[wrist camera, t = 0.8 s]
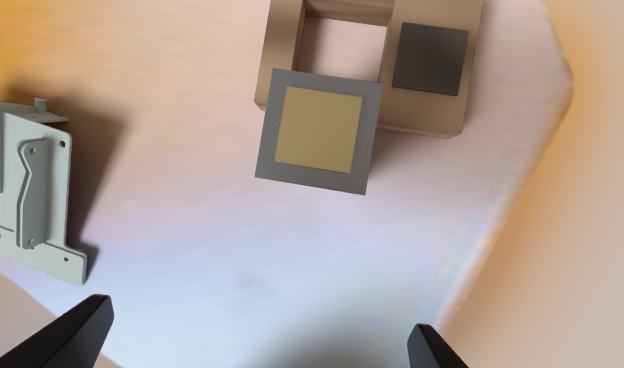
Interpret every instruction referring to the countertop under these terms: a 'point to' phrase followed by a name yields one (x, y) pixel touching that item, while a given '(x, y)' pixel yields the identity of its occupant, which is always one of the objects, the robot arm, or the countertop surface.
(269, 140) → the grey tall block
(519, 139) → the countertop surface
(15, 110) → the metal bracket
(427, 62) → the plate with square hole
